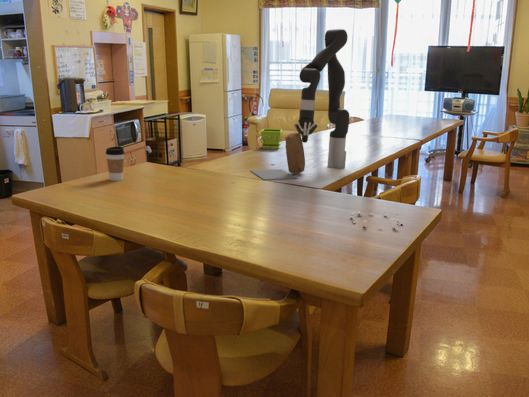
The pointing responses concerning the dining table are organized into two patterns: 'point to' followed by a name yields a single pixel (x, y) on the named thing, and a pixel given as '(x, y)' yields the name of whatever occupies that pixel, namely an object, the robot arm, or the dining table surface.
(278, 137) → the flower pot
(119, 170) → the coffee cup
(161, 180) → the dining table surface
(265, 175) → the mat
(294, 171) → the sandstone rock
